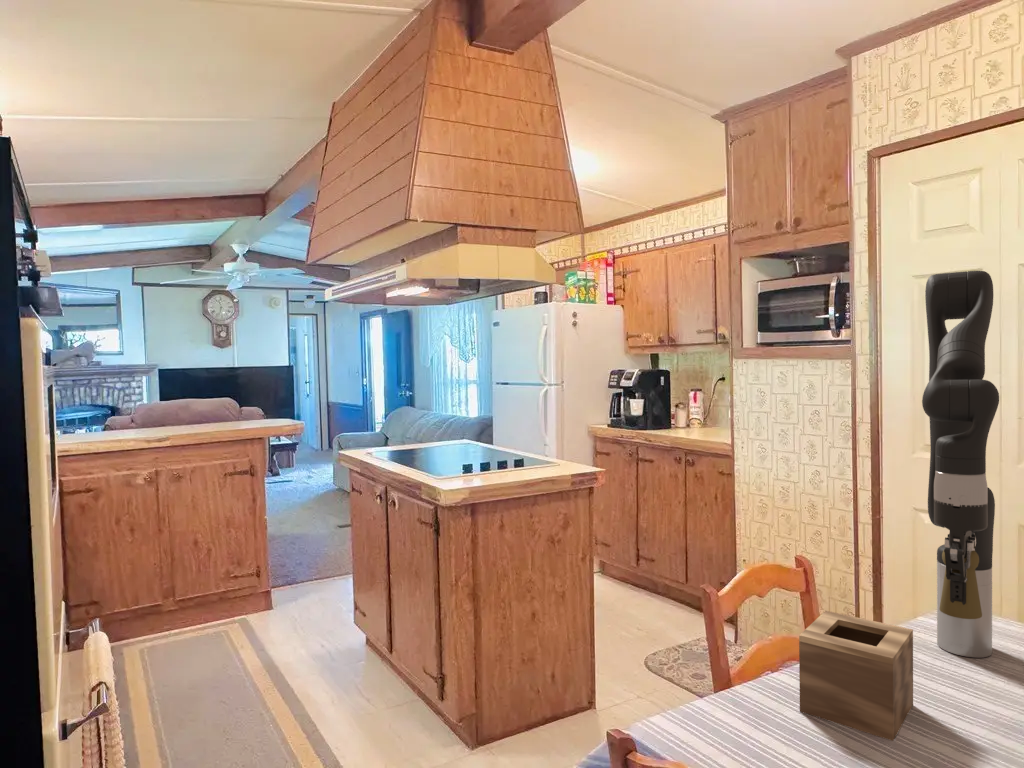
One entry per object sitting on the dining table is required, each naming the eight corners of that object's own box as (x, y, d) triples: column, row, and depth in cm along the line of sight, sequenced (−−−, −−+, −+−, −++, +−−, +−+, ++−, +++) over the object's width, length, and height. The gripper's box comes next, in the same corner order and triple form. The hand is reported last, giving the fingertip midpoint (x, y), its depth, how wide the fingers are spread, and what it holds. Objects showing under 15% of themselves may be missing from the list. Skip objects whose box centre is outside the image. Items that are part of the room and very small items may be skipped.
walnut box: (826, 680, 124) (825, 610, 123) (913, 705, 115) (912, 629, 114) (799, 711, 113) (799, 635, 113) (893, 741, 104) (892, 658, 104)
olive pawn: (989, 619, 110) (989, 553, 110) (948, 618, 112) (948, 552, 111) (972, 606, 116) (971, 543, 116) (933, 604, 117) (933, 542, 117)
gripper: (941, 488, 121) (942, 583, 122) (925, 503, 110) (926, 607, 111) (993, 493, 116) (993, 592, 117) (981, 509, 105) (981, 617, 106)
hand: (960, 598), depth 114 cm, fingers closed on olive pawn, 4 cm apart
